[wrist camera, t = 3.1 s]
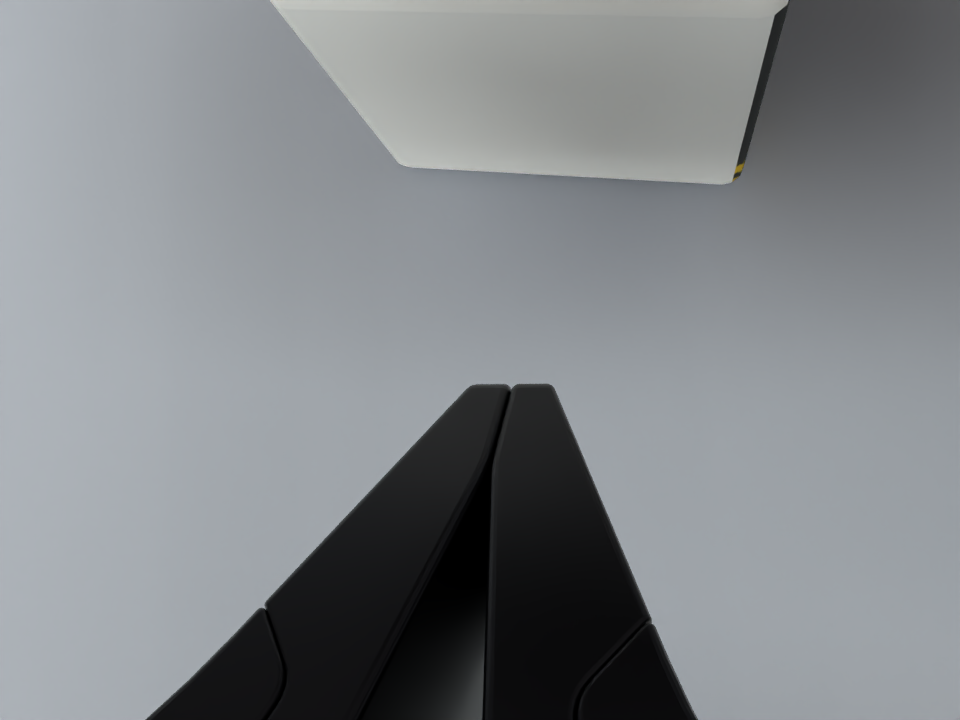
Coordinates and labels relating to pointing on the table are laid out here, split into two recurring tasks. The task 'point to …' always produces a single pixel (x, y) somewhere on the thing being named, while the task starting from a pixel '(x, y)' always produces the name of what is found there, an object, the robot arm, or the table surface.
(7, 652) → the table surface
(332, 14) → the medicine bottle
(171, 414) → the table surface
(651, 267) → the table surface
